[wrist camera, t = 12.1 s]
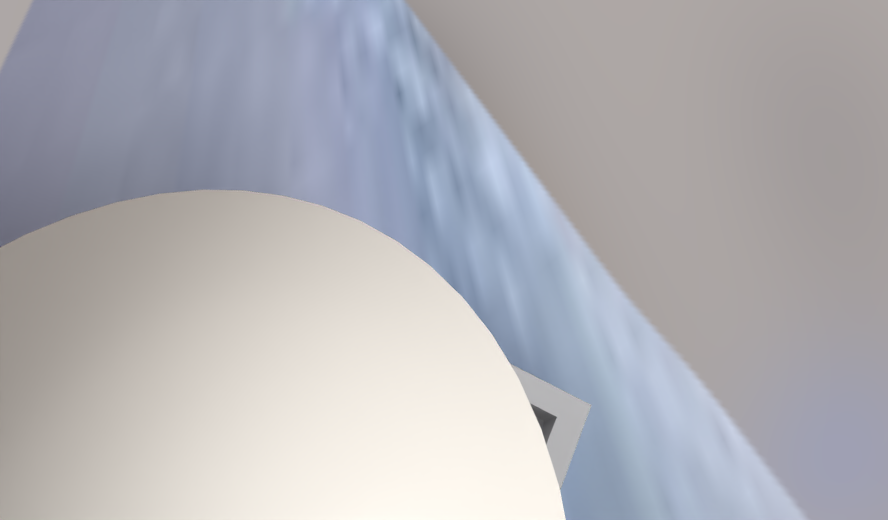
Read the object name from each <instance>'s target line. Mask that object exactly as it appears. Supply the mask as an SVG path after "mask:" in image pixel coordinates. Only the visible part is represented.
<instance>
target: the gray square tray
mask: <svg viewBox="0 0 888 520" xmlns="http://www.w3.org/2000/svg"><path fill="white" fill-rule="evenodd" d="M510 365H511V367H512V368H513V370H514V372H515V373H516V375H517V377H518V378H519V380H520V383H521V385H522V387H523V389H524V391H525V394H526V396H527V398H528V400H529V403H530V405H531V407H532V409H533V412H534V414H535V416H536V418H537V421H538V423H539V425H540V427H541V430H542V433H543V436H544V439H545V443H546V446H547V449H548V452H549V455H550V459H551V462H552V465H553V468H554V471H555V475H556V478H557V481H558V484H559V488H560V489H561V487H562V484H563V481H564V478H565V476H566V473H567V470H568V468H569V465H570V462H571V459H572V457H573V454H574V451H575V449H576V446H577V443H578V440H579V438H580V435H581V432H582V429H583V427H584V424H585V421H586V419H587V416H588V413H589V410H590V408H591V405H590V404H588V403H586V402H584V401H582V400H580V399H578V398H577V397H575V396H573V395H571V394H569V393H567V392H565V391H563V390H561V389H559V388H557V387H555V386H553V385H551V384H549V383H547V382H545V381H543V380H541V379H539V378H537V377H535V376H533V375H531V374H529V373H527V372H525V371H523V370H521V369H519V368H517V367H516V366H514V365H512V364H510Z"/></svg>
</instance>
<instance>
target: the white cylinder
mask: <svg viewBox="0 0 888 520" xmlns="http://www.w3.org/2000/svg"><path fill="white" fill-rule="evenodd" d="M0 520H566V519H565V514H564V509H563V504H562V498H561V493H560V488H559V484H558V481H557V478H556V475H555V471H554V468H553V465H552V462H551V459H550V455H549V452H548V449H547V446H546V443H545V439H544V436H543V433H542V430H541V427H540V425H539V423H538V421H537V418H536V416H535V414H534V412H533V409H532V407H531V405H530V403H529V400H528V398H527V396H526V394H525V391H524V389H523V387H522V385H521V383H520V380H519V378H518V377H517V375H516V373H515V372H514V370H513V368H512V367H511V365H510V363H509V362H508V360H507V358H506V357H505V355H504V353H503V352H502V350H501V348H500V347H499V345H498V343H497V342H496V340H495V338H494V337H493V335H492V334H491V333H490V331H489V330H488V329H487V327H486V326H485V325H484V324H483V322H482V321H481V320H480V319H479V317H478V316H477V315H476V314H475V312H474V311H473V310H472V309H471V307H470V306H469V305H468V303H467V302H466V301H465V300H464V298H463V297H462V296H461V295H460V294H459V293H458V292H457V291H456V290H454V289H453V288H452V287H451V286H450V285H449V284H448V283H447V282H446V281H445V280H444V279H443V278H442V277H441V276H440V275H439V274H438V273H437V272H436V271H435V270H434V269H433V268H432V267H431V266H429V265H428V264H427V263H425V262H424V261H423V260H421V259H420V258H419V257H417V256H416V255H415V254H413V253H412V252H411V251H409V250H408V249H407V248H405V247H404V246H403V245H401V244H400V243H399V242H397V241H396V240H394V239H392V238H390V237H388V236H387V235H385V234H383V233H381V232H379V231H378V230H376V229H374V228H372V227H371V226H369V225H367V224H365V223H363V222H362V221H359V220H357V219H354V218H352V217H349V216H347V215H344V214H342V213H339V212H337V211H334V210H332V209H329V208H327V207H324V206H321V205H317V204H313V203H309V202H306V201H302V200H298V199H294V198H290V197H286V196H281V195H274V194H266V193H258V192H251V191H243V190H195V191H184V192H173V193H163V194H156V195H151V196H146V197H141V198H136V199H131V200H126V201H121V202H116V203H112V204H109V205H106V206H102V207H99V208H96V209H92V210H89V211H86V212H83V213H79V214H76V215H73V216H70V217H67V218H65V219H62V220H60V221H57V222H55V223H53V224H50V225H48V226H45V227H43V228H40V229H38V230H35V231H33V232H30V233H28V234H26V235H24V236H22V237H20V238H18V239H16V240H14V241H12V242H10V243H8V244H6V245H4V246H2V247H0Z"/></svg>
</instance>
